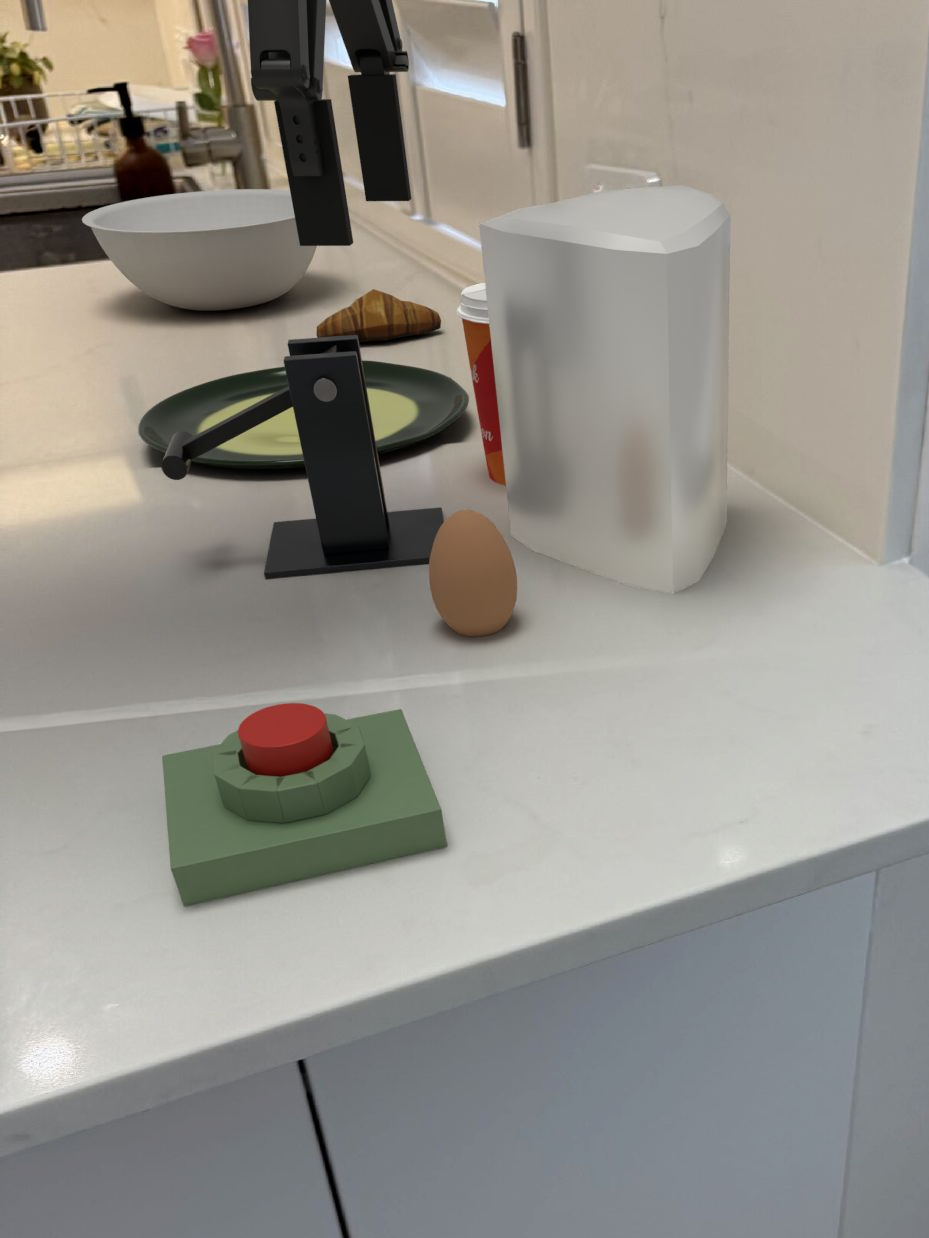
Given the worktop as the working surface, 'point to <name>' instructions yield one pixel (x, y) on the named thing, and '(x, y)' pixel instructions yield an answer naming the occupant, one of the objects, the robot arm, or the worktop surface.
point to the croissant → (380, 319)
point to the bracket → (342, 474)
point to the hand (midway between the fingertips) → (360, 221)
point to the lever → (223, 431)
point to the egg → (472, 575)
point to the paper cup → (483, 375)
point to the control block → (298, 811)
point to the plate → (397, 399)
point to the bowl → (205, 246)
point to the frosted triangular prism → (614, 379)
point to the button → (285, 739)
